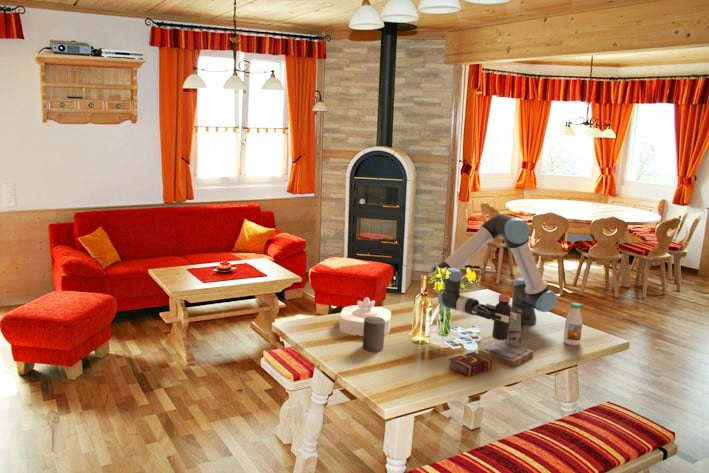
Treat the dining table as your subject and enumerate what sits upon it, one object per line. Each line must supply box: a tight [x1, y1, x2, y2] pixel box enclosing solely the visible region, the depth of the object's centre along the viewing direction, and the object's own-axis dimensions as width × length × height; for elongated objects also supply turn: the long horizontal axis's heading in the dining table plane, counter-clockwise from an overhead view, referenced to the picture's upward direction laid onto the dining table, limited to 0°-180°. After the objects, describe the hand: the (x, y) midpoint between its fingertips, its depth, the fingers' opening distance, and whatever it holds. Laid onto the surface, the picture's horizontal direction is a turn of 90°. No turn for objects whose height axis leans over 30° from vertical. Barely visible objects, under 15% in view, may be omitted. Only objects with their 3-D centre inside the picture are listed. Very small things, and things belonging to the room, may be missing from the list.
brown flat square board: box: [477, 339, 534, 368], centre depth 283 cm, size 18×18×3 cm
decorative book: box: [448, 351, 493, 377], centre depth 267 cm, size 11×16×5 cm
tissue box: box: [338, 297, 392, 337], centre depth 312 cm, size 25×25×16 cm
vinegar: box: [492, 294, 511, 341], centre depth 282 cm, size 7×7×20 cm
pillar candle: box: [362, 316, 385, 353], centre depth 285 cm, size 10×10×15 cm
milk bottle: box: [563, 302, 583, 346], centre depth 302 cm, size 8×8×20 cm
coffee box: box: [506, 308, 524, 347], centre depth 300 cm, size 9×6×16 cm
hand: (511, 318), depth 278 cm, fingers closed on vinegar, 6 cm apart
